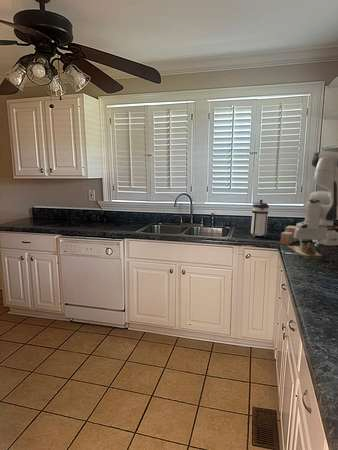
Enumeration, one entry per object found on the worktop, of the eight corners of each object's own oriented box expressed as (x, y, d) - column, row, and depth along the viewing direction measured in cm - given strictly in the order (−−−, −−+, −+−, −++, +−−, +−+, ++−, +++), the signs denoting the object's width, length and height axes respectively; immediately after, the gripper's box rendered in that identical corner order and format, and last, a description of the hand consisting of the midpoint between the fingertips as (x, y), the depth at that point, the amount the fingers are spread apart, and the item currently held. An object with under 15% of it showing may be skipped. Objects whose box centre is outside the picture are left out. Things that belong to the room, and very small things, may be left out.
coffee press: (272, 236, 253) (275, 200, 247) (259, 239, 244) (262, 201, 238) (255, 232, 267) (258, 198, 261) (242, 234, 258) (245, 198, 252)
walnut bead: (310, 251, 204) (311, 245, 203) (315, 254, 198) (315, 248, 198) (301, 251, 204) (302, 245, 203) (305, 254, 198) (306, 248, 197)
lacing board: (306, 248, 219) (307, 236, 218) (323, 258, 196) (324, 245, 194) (286, 247, 219) (287, 236, 217) (301, 257, 195) (302, 244, 194)
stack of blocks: (288, 247, 222) (290, 230, 220) (279, 245, 226) (281, 228, 223) (296, 241, 239) (298, 226, 236) (288, 240, 242) (290, 225, 240)
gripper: (325, 224, 201) (322, 245, 204) (293, 223, 201) (291, 244, 203) (330, 226, 195) (327, 247, 197) (297, 225, 194) (295, 246, 197)
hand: (309, 246), depth 200 cm, fingers open, 8 cm apart
